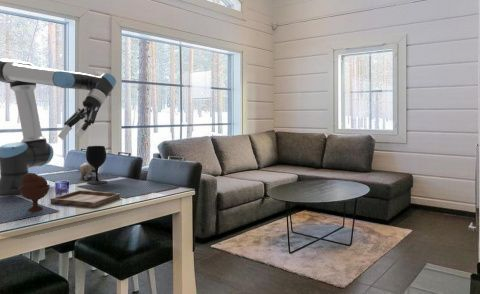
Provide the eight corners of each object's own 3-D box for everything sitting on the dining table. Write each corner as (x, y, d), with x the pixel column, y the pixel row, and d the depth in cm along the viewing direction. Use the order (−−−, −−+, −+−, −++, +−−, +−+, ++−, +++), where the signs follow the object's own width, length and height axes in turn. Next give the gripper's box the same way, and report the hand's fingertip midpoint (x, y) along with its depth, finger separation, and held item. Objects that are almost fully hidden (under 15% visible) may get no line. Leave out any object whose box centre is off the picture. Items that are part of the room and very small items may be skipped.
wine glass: (100, 185, 200) (99, 147, 198) (82, 184, 202) (81, 147, 200) (110, 181, 210) (109, 145, 208) (93, 180, 212) (92, 145, 210)
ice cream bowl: (30, 215, 142) (28, 176, 141) (14, 210, 148) (12, 173, 146) (56, 209, 151) (55, 172, 150) (40, 205, 157) (39, 169, 155)
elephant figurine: (72, 176, 209) (79, 153, 216) (78, 186, 221) (85, 164, 228) (86, 178, 209) (93, 154, 217) (92, 188, 221) (98, 165, 229)
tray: (50, 203, 160) (50, 198, 159) (79, 194, 177) (79, 190, 177) (94, 207, 153) (94, 202, 153) (120, 198, 171) (120, 193, 170)
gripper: (116, 103, 169) (92, 140, 158) (84, 109, 183) (60, 143, 173) (104, 91, 164) (78, 129, 153) (73, 98, 179) (47, 133, 168)
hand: (69, 137), depth 163 cm, fingers open, 13 cm apart
